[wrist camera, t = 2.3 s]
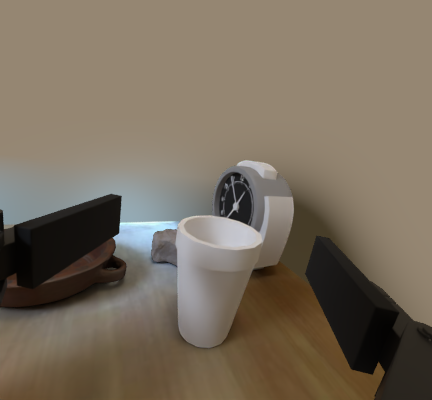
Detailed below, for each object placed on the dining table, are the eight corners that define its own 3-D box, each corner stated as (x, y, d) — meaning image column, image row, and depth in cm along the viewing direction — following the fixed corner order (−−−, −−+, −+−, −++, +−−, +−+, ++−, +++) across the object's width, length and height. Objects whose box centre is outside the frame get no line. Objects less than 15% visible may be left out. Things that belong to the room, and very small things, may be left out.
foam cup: (151, 317, 28) (161, 220, 25) (206, 292, 34) (220, 212, 31) (198, 379, 22) (221, 259, 18) (255, 334, 28) (278, 239, 25)
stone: (210, 271, 40) (214, 241, 39) (153, 276, 36) (156, 243, 35) (197, 249, 47) (200, 223, 46) (148, 252, 43) (151, 224, 42)
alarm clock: (202, 239, 53) (216, 153, 48) (232, 237, 57) (247, 158, 52) (247, 285, 38) (274, 167, 33) (283, 277, 42) (311, 172, 37)
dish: (-1, 244, 38) (-3, 216, 37) (135, 251, 43) (137, 227, 41) (-136, 325, 21) (-148, 280, 20) (111, 324, 26) (113, 286, 25)
